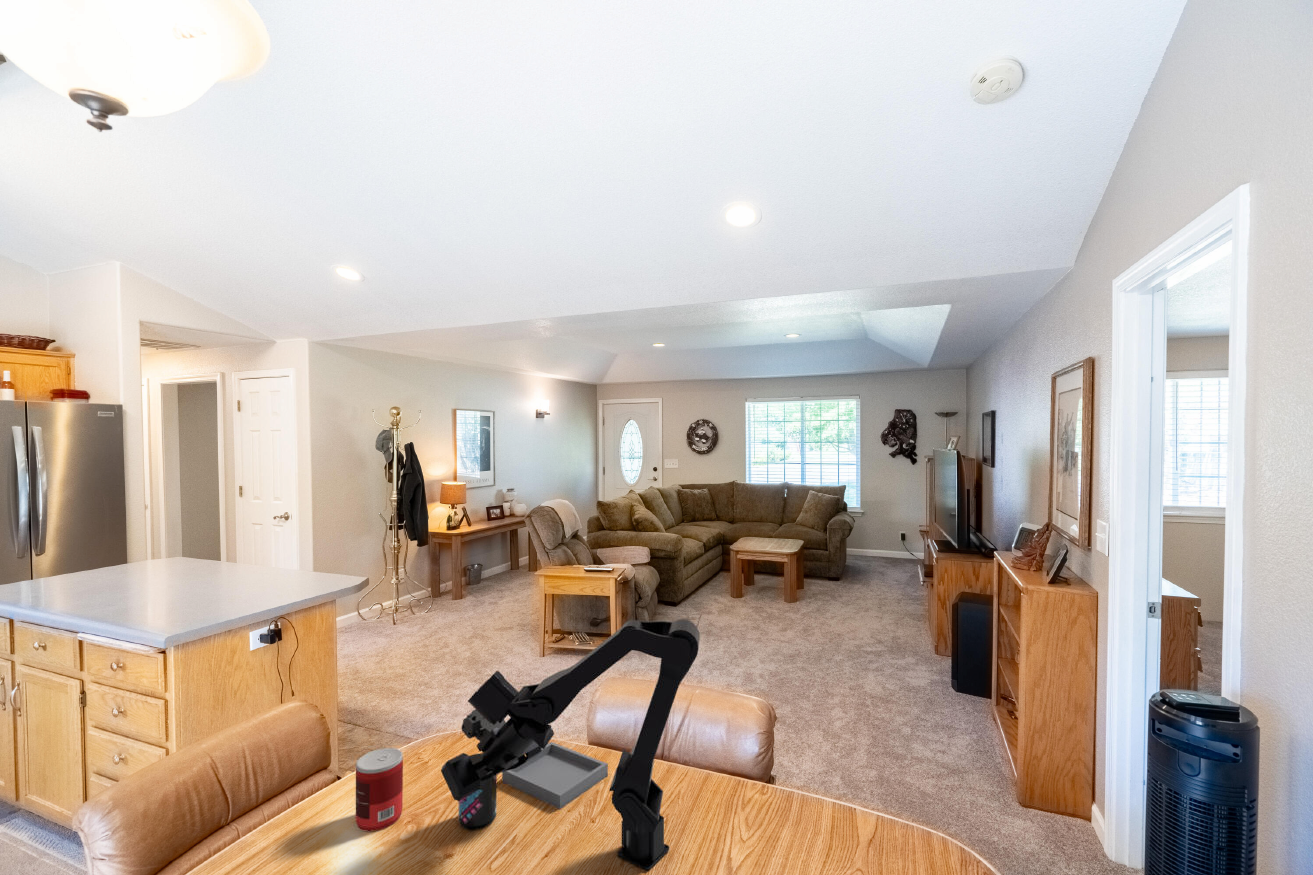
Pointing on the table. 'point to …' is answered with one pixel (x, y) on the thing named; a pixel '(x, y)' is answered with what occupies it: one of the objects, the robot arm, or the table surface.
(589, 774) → the tray
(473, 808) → the supplement container
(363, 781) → the canned food
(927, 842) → the table surface
